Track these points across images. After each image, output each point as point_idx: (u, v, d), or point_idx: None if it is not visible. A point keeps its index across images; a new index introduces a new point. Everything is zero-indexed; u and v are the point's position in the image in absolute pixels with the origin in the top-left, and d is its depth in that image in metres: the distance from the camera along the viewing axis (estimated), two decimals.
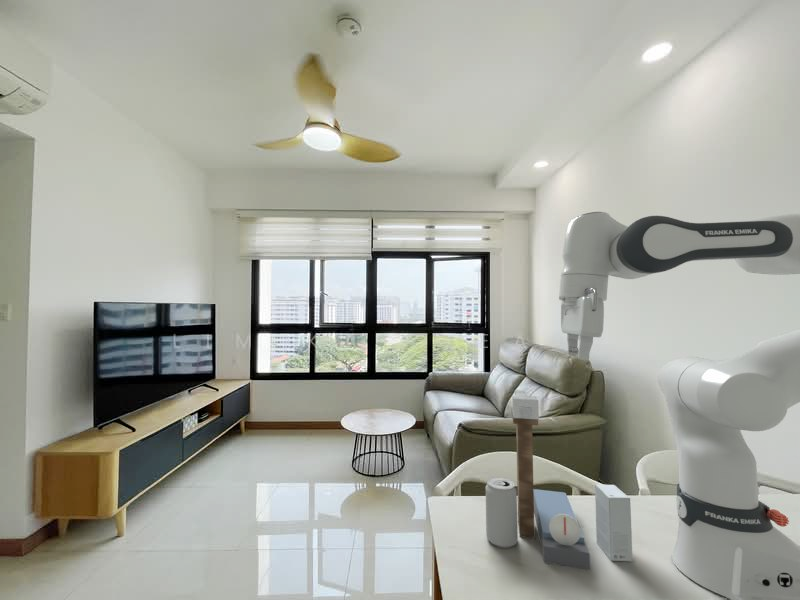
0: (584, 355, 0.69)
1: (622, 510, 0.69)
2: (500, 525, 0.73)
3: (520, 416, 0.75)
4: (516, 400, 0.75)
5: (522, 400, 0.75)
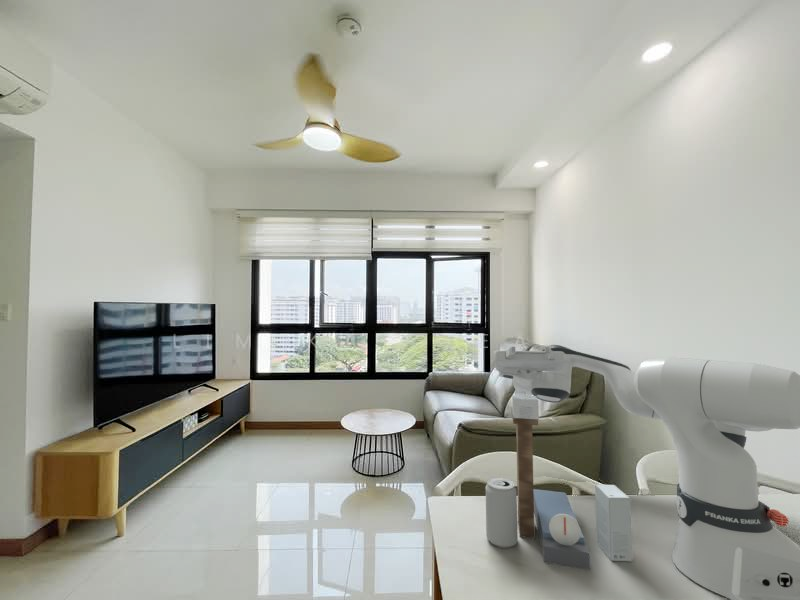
0: (550, 350, 1.00)
1: (622, 510, 0.69)
2: (500, 525, 0.73)
3: (520, 416, 0.75)
4: (516, 400, 0.75)
5: (522, 400, 0.75)
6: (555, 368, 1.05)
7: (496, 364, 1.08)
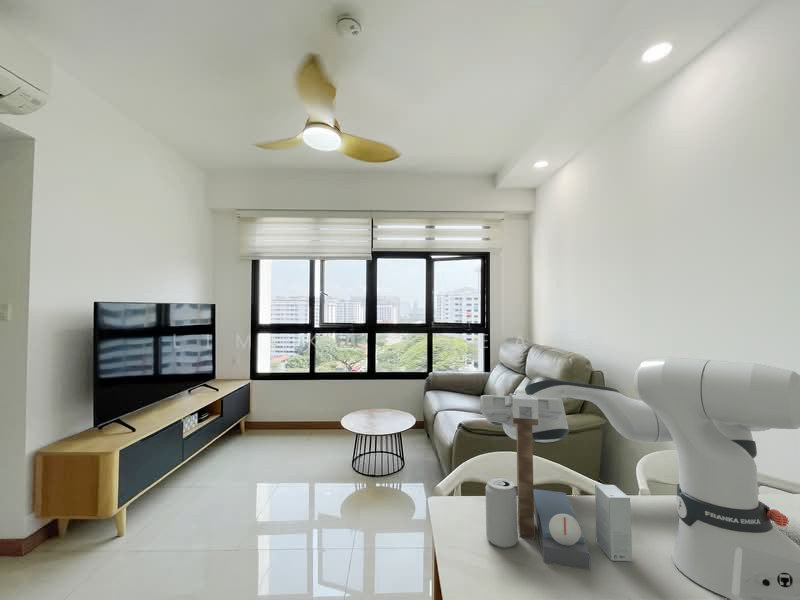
0: None
1: (622, 510, 0.69)
2: (500, 525, 0.73)
3: (520, 416, 0.75)
4: (516, 400, 0.75)
5: (522, 400, 0.75)
6: (550, 417, 0.92)
7: (483, 411, 0.94)
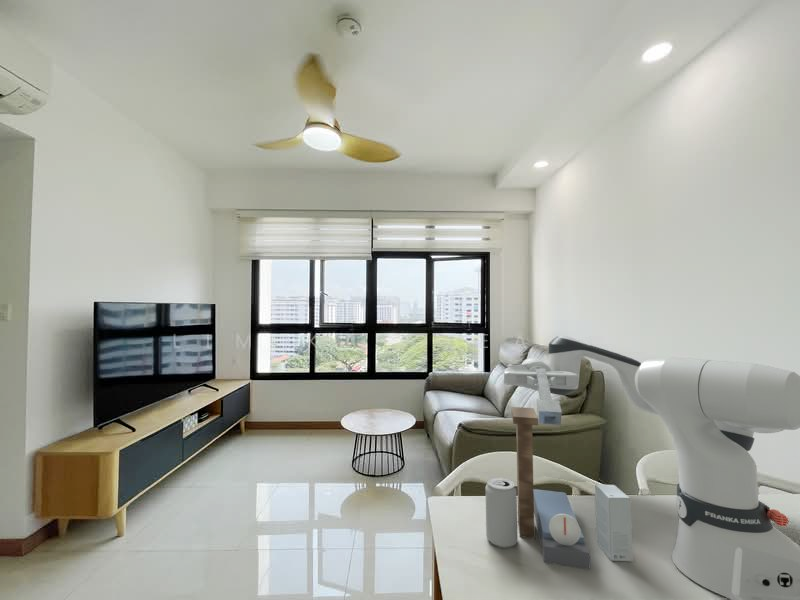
0: (552, 383, 0.97)
1: (622, 510, 0.69)
2: (500, 525, 0.73)
3: (544, 422, 0.87)
4: (542, 412, 0.85)
5: (547, 412, 0.85)
6: None
7: (506, 384, 1.06)
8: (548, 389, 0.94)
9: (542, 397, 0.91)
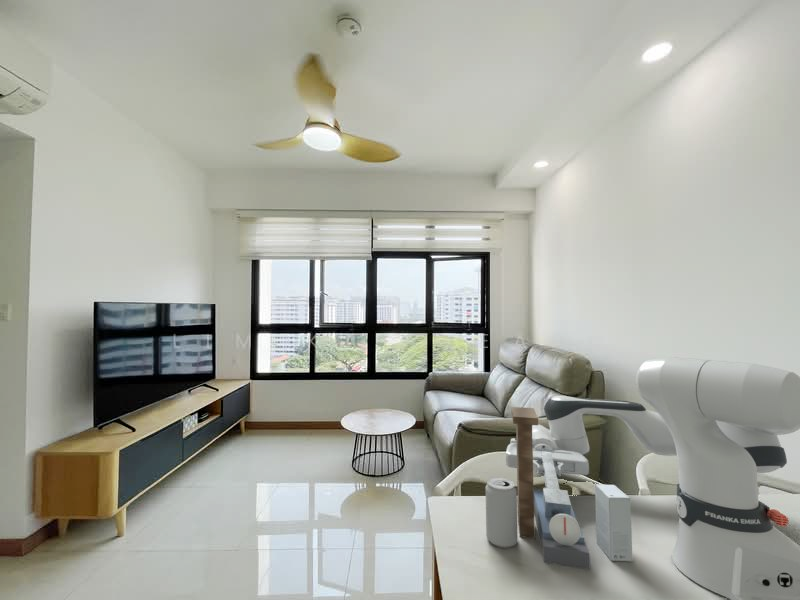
0: (560, 472, 0.88)
1: (622, 510, 0.69)
2: (500, 525, 0.73)
3: (552, 516, 0.77)
4: (548, 503, 0.76)
5: (554, 504, 0.76)
6: None
7: None
8: (555, 476, 0.85)
9: (548, 485, 0.82)
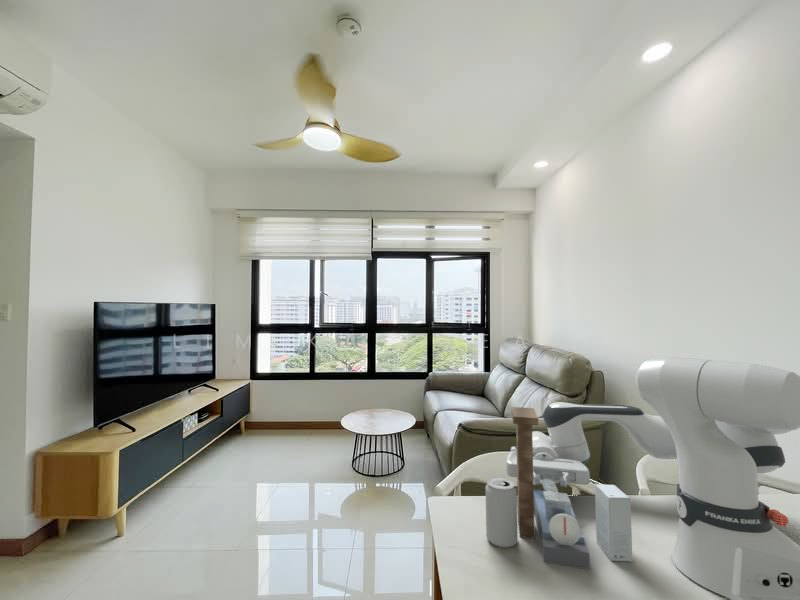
0: None
1: (622, 510, 0.69)
2: (500, 525, 0.73)
3: None
4: (548, 501, 0.77)
5: (554, 502, 0.76)
6: None
7: None
8: (555, 487, 0.85)
9: None
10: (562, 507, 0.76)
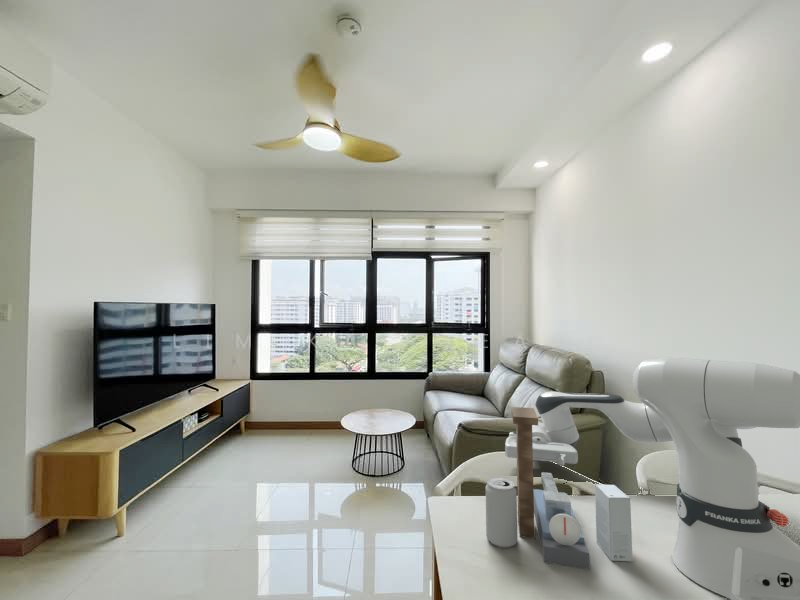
0: (563, 462, 1.00)
1: (622, 510, 0.69)
2: (500, 525, 0.73)
3: None
4: (548, 501, 0.77)
5: (554, 502, 0.76)
6: None
7: None
8: (555, 487, 0.85)
9: None
10: (562, 507, 0.76)
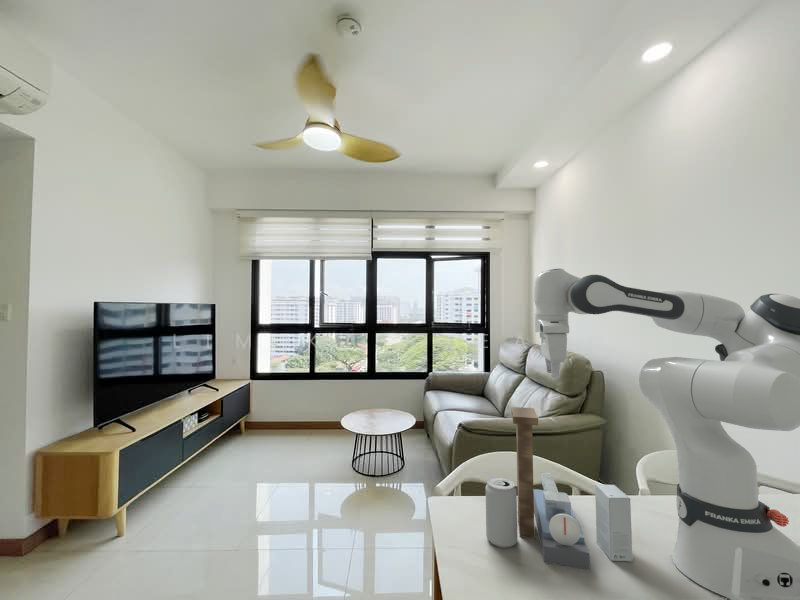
0: None
1: (622, 510, 0.69)
2: (500, 525, 0.73)
3: None
4: (548, 501, 0.77)
5: (554, 502, 0.76)
6: (541, 340, 1.09)
7: (549, 353, 0.92)
8: (555, 487, 0.85)
9: None
10: (562, 507, 0.76)
